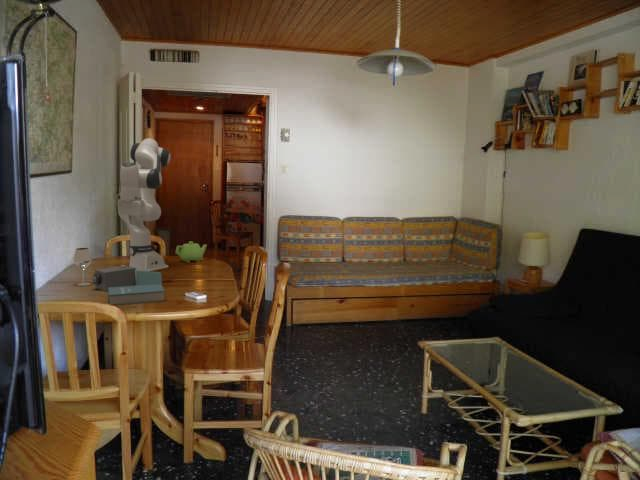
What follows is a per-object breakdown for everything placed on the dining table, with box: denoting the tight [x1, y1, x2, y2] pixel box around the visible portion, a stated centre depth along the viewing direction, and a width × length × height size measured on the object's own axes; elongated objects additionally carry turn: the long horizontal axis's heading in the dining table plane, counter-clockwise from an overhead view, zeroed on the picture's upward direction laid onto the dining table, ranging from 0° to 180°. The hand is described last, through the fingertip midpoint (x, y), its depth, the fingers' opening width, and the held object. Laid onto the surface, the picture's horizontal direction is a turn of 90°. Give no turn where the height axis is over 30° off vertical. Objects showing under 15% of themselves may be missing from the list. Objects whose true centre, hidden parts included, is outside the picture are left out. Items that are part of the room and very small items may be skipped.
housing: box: [92, 264, 136, 292], centre depth 256 cm, size 18×10×10 cm, turn 139°
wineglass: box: [73, 247, 93, 287], centre depth 261 cm, size 8×8×18 cm
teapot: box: [174, 241, 208, 264], centre depth 331 cm, size 20×13×13 cm
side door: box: [135, 270, 164, 286], centre depth 257 cm, size 15×2×8 cm, turn 69°
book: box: [107, 284, 166, 306], centre depth 234 cm, size 23×16×5 cm
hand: (132, 224), depth 259 cm, fingers closed
